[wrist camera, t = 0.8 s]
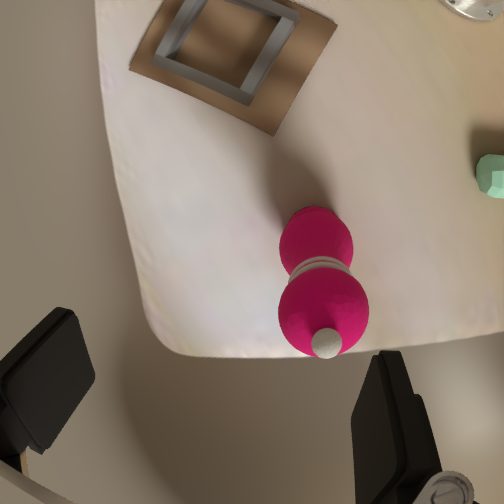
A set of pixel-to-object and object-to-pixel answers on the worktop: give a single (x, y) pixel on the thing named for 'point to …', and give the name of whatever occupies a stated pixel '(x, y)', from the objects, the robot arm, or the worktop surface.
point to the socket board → (235, 54)
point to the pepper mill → (320, 285)
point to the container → (491, 175)
